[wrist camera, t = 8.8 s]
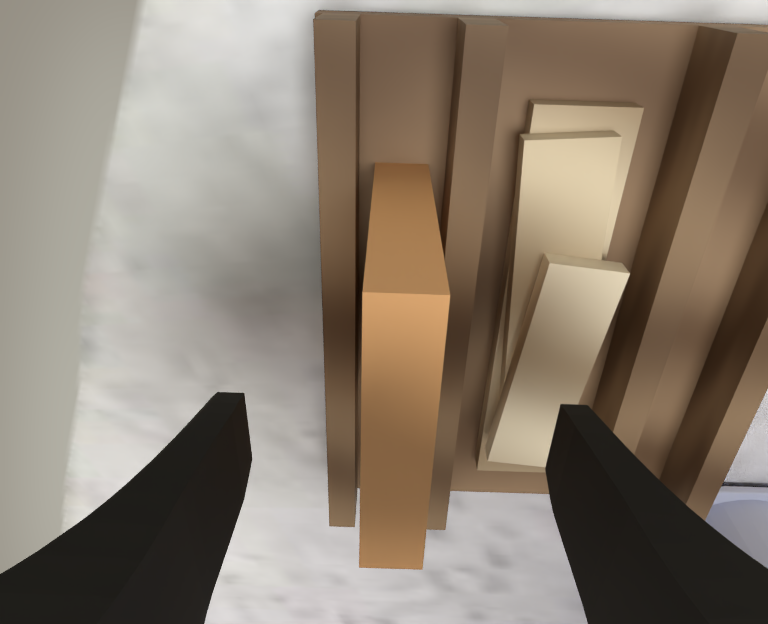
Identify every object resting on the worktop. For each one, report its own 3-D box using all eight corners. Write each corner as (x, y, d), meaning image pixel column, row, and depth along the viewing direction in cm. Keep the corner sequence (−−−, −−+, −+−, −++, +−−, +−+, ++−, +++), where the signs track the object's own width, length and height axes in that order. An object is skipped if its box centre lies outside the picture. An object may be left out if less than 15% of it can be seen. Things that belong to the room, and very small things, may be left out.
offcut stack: (553, 460, 24) (566, 501, 22) (468, 457, 24) (474, 497, 22) (642, 102, 16) (673, 119, 15) (519, 98, 16) (534, 115, 15)
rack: (693, 480, 25) (726, 538, 23) (331, 469, 25) (324, 526, 23) (890, 28, 16) (983, 41, 14) (318, 10, 16) (304, 18, 14)
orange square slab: (413, 376, 21) (422, 569, 15) (370, 374, 21) (359, 567, 15) (428, 163, 17) (450, 294, 10) (375, 162, 17) (362, 292, 10)
